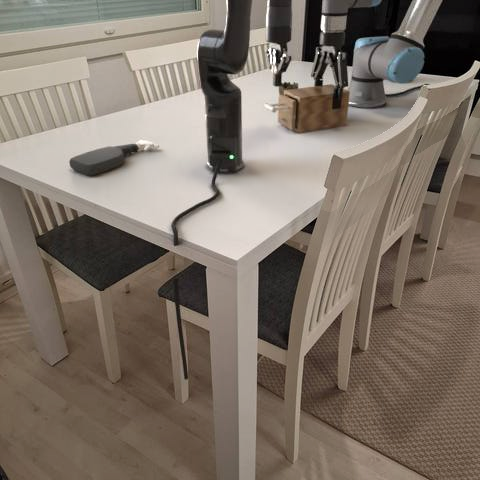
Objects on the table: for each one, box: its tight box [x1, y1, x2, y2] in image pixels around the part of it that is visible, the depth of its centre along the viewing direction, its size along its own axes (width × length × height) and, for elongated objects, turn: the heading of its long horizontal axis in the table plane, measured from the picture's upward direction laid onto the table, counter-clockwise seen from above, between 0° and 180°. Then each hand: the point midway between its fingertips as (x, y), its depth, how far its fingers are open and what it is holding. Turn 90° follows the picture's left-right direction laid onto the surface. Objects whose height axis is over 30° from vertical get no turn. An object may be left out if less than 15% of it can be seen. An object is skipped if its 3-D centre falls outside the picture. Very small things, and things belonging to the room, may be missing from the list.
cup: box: [278, 81, 300, 96], centre depth 166 cm, size 8×7×8 cm
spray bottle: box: [68, 139, 160, 177], centre depth 124 cm, size 3×11×24 cm
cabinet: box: [284, 83, 350, 134], centre depth 146 cm, size 18×11×11 cm, turn 113°
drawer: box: [264, 94, 299, 131], centre depth 144 cm, size 23×9×9 cm, turn 113°
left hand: (277, 85), depth 137 cm, fingers closed
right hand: (326, 104), depth 147 cm, fingers closed on cabinet, 11 cm apart
